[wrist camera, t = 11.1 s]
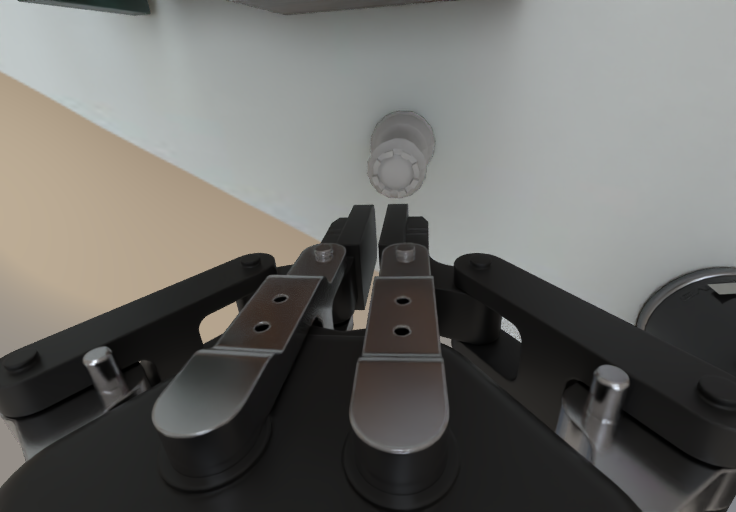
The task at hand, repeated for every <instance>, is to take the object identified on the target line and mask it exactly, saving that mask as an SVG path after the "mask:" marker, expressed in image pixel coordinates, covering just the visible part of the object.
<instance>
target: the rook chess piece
mask: <svg viewBox="0 0 736 512" xmlns="http://www.w3.org/2000/svg"><path fill="white" fill-rule="evenodd" d="M434 147H435V138H434V134H433V131H432V128H431V126H430V125H429V124H428V123H427V121H426V120H425V119H424V118H423V117H421V116H419V115H417V114H415V113H413V112H408V111H397V112H394V113H392V114H389V115H386V116H385V117H384V118H383V119H382V120H381V121H380V122H379V123H378V124H377V125H376V127H375V129H374V132H373V134H372V136H371V147H370V152H371V156H370V158H369V160H368V165H367V174H368V177H369V180H370V183H371V185H372V186H373V187H374V188H375V189H376V190H377V191H378V192H379V193H381V194H383V195H385V196H387V197H389V198H403V197H407V196H410V195H412V194H413V193H414V192H416V191H417V190H418V189H419V188H420V187H421V185H422V184H423V182H424V180H425V178H426V170H427V166H428V164H429V162H430V161H431V159H432V157H433V154H434Z"/></svg>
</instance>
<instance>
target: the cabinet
mask: <svg viewBox="0 0 736 512" xmlns="http://www.w3.org/2000/svg"><path fill="white" fill-rule="evenodd" d="M228 1H232V2H236V3H240V4H244V5H248V6H251V7H255V8H259V9H263V10H267V11H271V12H275V13H279V14H283V15H292V14H303V13H315V12H326V11H338V10H350V9H361V8H373V7H384V6H396V5H408V4H419V3H431V2H442V1H454V0H228Z"/></svg>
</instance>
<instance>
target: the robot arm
mask: <svg viewBox="0 0 736 512" xmlns="http://www.w3.org/2000/svg"><path fill="white" fill-rule="evenodd" d="M378 247H379V264H380V271H379V276H377V277H375V278H374V282H373V289H372V295H371V301H370V307H369V313H368V320H367V326H366V329H359V330H352V329H353V325H354V324H353V313H354V310H365V306H366V302H367V297H368V293H369V289H370V285H371V281H372V276H373V272H374V268H375V264H376V259H377V238H376V222H375V209H374V205H354V206H353V208H352V210H351V212H350V214H349V216H348V218H339V219H337V220H336V221H334V222H333V223H331V225H330V227H329V229H328V231H327V233H326V235H325V236H324V238H323V240H322V242H321V243H320V244H316V245H313V246H310V247H308V248H306V249H305V250H304V251H303V252H302V253H301V254H300V256H299V257H298V259H297V260H296V262H295V263H294V264H293V265H287V266H281V267H276V263H275V259H274V257H273V256H271V255H269V254H265V253H254V254H248V255H244V256H241V257H238V258H236V259H234V260H231V261H229V262H226V263H224V264H222V265H219V266H217V267H214V268H212V269H210V270H207V271H205V272H203V273H200V274H198V275H195V276H193V277H190V278H188V279H186V280H183V281H181V282H178V283H176V284H174V285H171V286H169V287H166V288H164V289H162V290H159V291H157V292H154V293H152V294H150V295H147V296H145V297H142V298H140V299H138V300H135V301H133V302H130V303H128V304H126V305H123V306H121V307H119V308H116V309H114V310H111V311H109V312H107V313H104V314H102V315H99V316H97V317H94V318H92V319H90V320H87V321H85V322H83V323H80V324H78V325H75V326H73V327H70V328H68V329H66V330H63V331H61V332H58V333H56V334H54V335H51V336H49V337H47V338H44V339H42V340H39V341H37V342H34V343H33V344H30V345H27V346H25V347H23V348H20V349H18V350H15V351H13V352H11V353H9V354H7V355H5V356H4V357H2V358H0V417H1V418H2V420H3V421H4V423H5V424H6V426H7V427H8V429H9V430H10V431H11V433H12V434H13V436H14V437H15V439H16V440H17V442H18V443H19V445H20V446H21V448H22V451H23V454H24V457H25V461H26V462H25V463H24V464H23V465H22V466H21V467H20V468H19V469H18V470H17V471H16V472H14V474H13V475H12V476H11V477H10V478H9V479H8V480H7V481H6V482H5V483H4V484H3V485H2V486H1V488H0V512H726V511H727V509H728V508H729V506H730V504H731V503H732V501H733V499H734V497H735V495H736V268H712V269H706V270H701V271H697V272H694V273H690V274H688V275H685V276H683V277H680V278H678V279H676V280H674V281H672V282H671V283H669V284H667V285H666V286H665V287H663V288H662V289H660V290H659V291H658V292H657V293H656V294H655V295H654V296H653V297H652V298H651V299H650V300H649V301H648V302H647V303H646V305H645V306H644V308H643V310H642V311H641V314H640V316H639V319H638V323H637V327H636V326H634V325H632V324H630V323H628V322H626V321H624V320H622V319H620V318H618V317H616V316H614V315H612V314H610V313H608V312H606V311H604V310H602V309H600V308H598V307H596V306H594V305H592V304H590V303H588V302H586V301H584V300H582V299H580V298H578V297H576V296H574V295H572V294H570V293H568V292H566V291H564V290H562V289H560V288H558V287H556V286H554V285H552V284H550V283H548V282H546V281H544V280H542V279H540V278H538V277H536V276H535V275H533V274H531V273H529V272H527V271H525V270H523V269H521V268H519V267H517V266H515V265H513V264H511V263H509V262H507V261H505V260H503V259H501V258H499V257H496V256H493V255H490V254H483V253H472V254H466V255H463V256H460V257H459V258H457V259H456V260H455V262H454V266H449V265H445V264H441V263H439V262H436V261H435V260H433V259H432V258H431V257H430V256H429V243H428V221H427V220H426V219H424V218H423V217H422V216H420V217H408V204H388V207H387V211H386V215H385V219H384V223H383V227H382V232H381V236H380V240H379V244H378ZM235 301H236V303H237V307H238V310H239V314H238V315H237V317H236V318H235V319H234V320H233V322H232V323H231V324H230V326H229V327H228V328H227V329H226V331H225V332H224V333H223V334H221V335H220V336H218V337H216V338H214V339H212V340H210V341H209V342H207V343H205V344H203V343H202V340H201V336H200V333H199V325H200V323H201V321H202V320H203V319H204V318H205V317H206V316H207V315H209V314H211V313H213V312H215V311H217V310H219V309H221V308H223V307H225V306H227V305H229V304H231V303H233V302H235ZM502 317H504V318H505V319H507V320H508V321H510V322H511V323H513V324H514V325H515V326H516V328H517V329H518V331H519V333H520V335H521V342H519V341H518V340H516V339H515V338H513V337H512V336H510V335H509V334H508V333H506V332H505V331H503V330H502V329H501V320H502ZM440 336H442V337H446V338H450V339H451V344H452V348H451V347H449V346H447V345H445V344H442V343H440ZM139 361H141V362H140V363H139Z"/></svg>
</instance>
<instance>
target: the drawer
mask: <svg viewBox="0 0 736 512" xmlns="http://www.w3.org/2000/svg"><path fill="white" fill-rule="evenodd" d="M18 1H20V2H28V3H36V4H44V5H53V6H61V7H69V8H77V9H85V10H94V11H102V12H110V13H118V14H126V15H146V14H151V13H150V9H149V5H148V1H147V0H18Z"/></svg>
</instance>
